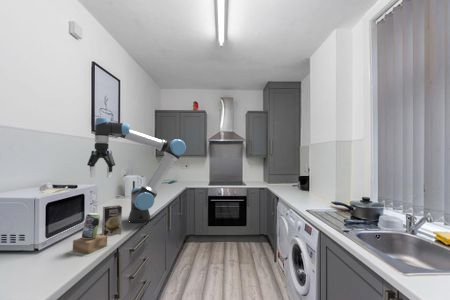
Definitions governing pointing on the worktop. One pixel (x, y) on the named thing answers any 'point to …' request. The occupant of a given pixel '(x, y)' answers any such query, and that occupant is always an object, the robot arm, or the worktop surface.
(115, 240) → the worktop surface
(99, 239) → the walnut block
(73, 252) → the build pad
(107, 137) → the robot arm
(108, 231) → the coffee box
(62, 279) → the worktop surface
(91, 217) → the beverage can
